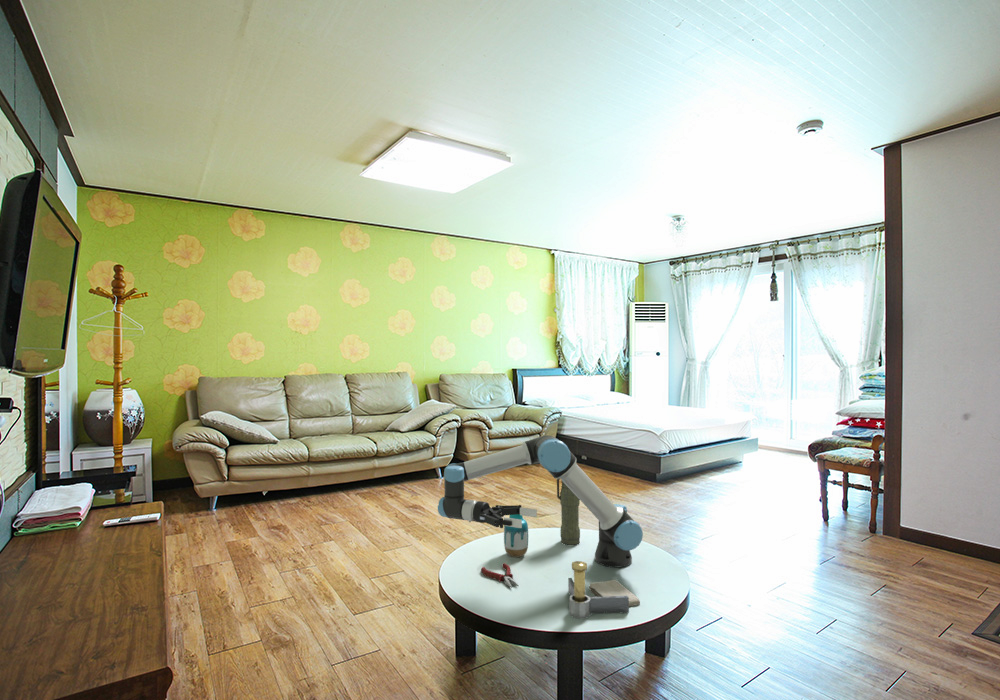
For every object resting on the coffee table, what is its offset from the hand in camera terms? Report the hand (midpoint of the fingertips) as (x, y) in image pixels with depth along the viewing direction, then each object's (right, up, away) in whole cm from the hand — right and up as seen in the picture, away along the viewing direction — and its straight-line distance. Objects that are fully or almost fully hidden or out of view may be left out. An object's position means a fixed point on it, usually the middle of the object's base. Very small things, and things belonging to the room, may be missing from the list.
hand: (529, 518), depth 183 cm
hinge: (+22, -28, -5) cm, 36 cm away
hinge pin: (+16, -28, -12) cm, 34 cm away
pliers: (-11, -29, +17) cm, 36 cm away
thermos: (+22, -29, +56) cm, 67 cm away
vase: (-3, -29, +40) cm, 50 cm away
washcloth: (+30, -29, +1) cm, 41 cm away
